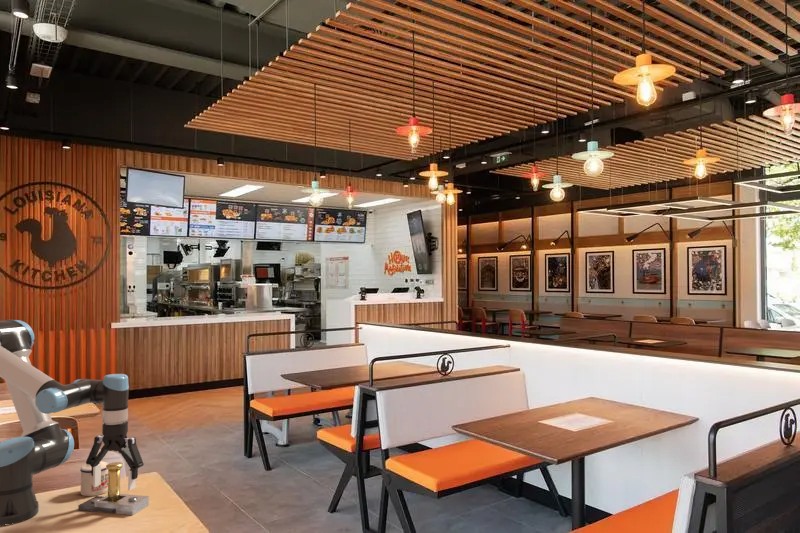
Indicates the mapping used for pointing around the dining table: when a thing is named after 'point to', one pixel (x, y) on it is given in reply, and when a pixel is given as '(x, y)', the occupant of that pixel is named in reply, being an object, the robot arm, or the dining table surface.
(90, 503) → the lower chain end
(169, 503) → the dining table surface
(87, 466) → the teacup with lid
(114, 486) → the brass pin
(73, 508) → the dining table surface
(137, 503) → the block
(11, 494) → the robot arm
